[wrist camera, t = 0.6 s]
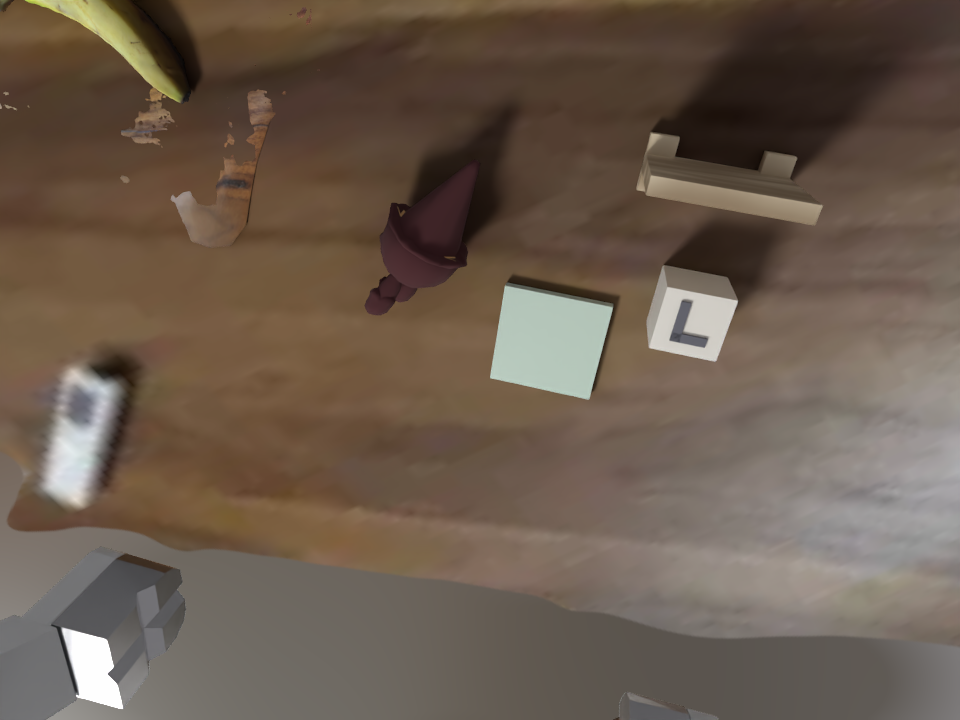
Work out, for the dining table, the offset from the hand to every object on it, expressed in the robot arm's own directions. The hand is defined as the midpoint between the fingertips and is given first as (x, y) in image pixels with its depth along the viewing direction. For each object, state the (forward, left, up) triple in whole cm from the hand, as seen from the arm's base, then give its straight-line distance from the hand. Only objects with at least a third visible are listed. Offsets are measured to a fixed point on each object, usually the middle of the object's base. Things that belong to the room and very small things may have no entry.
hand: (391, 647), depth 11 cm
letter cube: (+8, +11, -41) cm, 44 cm away
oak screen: (-2, +10, -41) cm, 43 cm away
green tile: (+14, +1, -41) cm, 43 cm away
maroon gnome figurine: (+6, -10, -42) cm, 43 cm away
